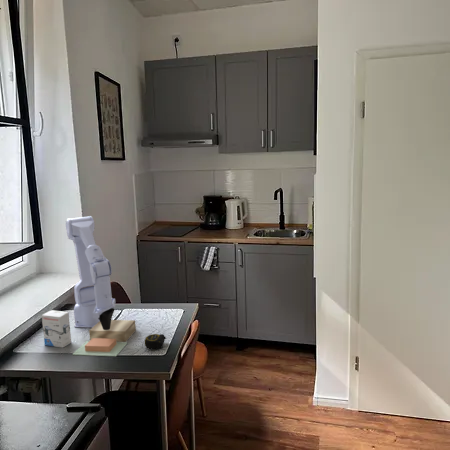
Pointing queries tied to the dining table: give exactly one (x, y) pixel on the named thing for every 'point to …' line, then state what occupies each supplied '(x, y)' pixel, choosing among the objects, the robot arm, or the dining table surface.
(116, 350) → the mat
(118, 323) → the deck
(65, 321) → the ink box
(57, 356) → the dining table surface
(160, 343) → the tape measure
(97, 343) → the block
